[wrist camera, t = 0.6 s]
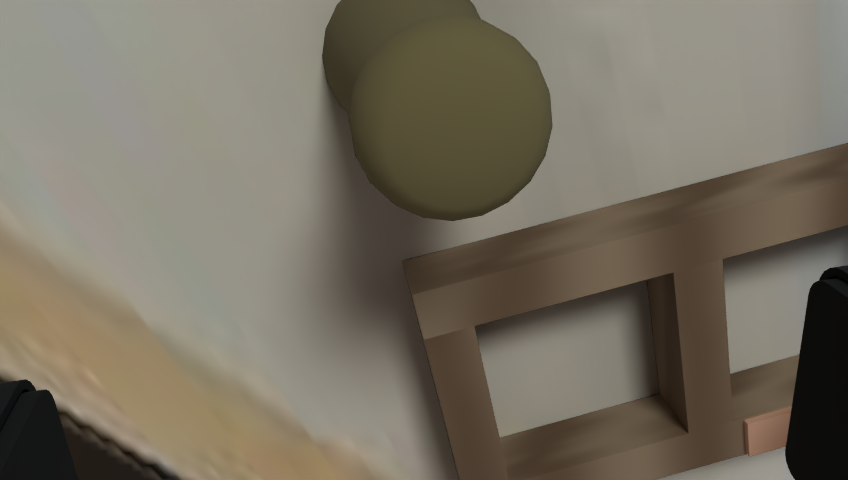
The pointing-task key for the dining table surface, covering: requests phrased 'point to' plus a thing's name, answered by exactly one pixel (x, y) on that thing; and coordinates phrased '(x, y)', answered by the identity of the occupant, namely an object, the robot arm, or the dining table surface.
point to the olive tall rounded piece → (437, 104)
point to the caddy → (670, 314)
